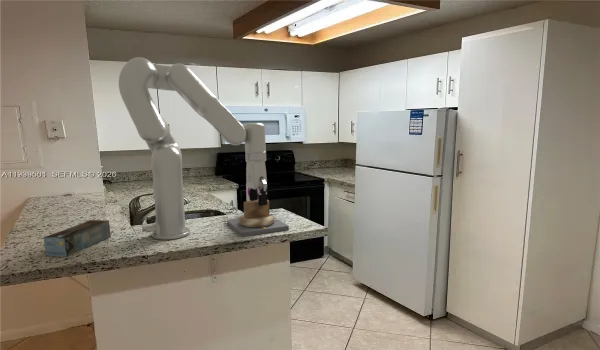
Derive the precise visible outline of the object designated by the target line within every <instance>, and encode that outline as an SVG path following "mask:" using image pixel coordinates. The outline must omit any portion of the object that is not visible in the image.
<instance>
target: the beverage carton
mask: <svg viewBox="0 0 600 350" xmlns="http://www.w3.org/2000/svg"><path fill="white" fill-rule="evenodd" d="M110 227H111V226H110V221H109V219H108V220H104V219H103V220H101V219H96V220H95V219H90V220H87V221H84V222H82V223H80V224H79V223H78V224H77V225H74V226H70V227H68V228H66V229H63V230H61V231H57V232H55V233H53V234H50V235H47V236H44V237H43V243H44V245H43V246H44V251H45V254H46V256H49V257H52V256H53V257H64V258H67V257H70V256H71V255H74V254H77V253H78V252H81V251H83V250H85V249H87V248H89V247H92V246H94V245H96V244H98V243H100V242H102V241H104V240H106V239H109V238H112V237H111V235H112V234H111V228H110Z"/></svg>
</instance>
